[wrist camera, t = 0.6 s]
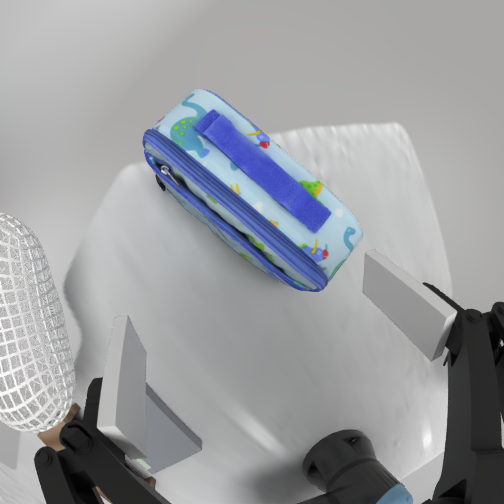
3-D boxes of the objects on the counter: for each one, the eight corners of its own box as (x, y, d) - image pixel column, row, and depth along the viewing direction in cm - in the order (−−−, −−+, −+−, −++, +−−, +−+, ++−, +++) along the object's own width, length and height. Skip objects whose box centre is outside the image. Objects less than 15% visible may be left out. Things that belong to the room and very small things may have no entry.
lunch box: (151, 184, 43) (115, 129, 22) (196, 137, 44) (196, 58, 24) (276, 291, 46) (333, 316, 25) (316, 240, 47) (393, 228, 27)
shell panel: (201, 438, 44) (201, 450, 40) (154, 463, 42) (152, 474, 38) (145, 380, 42) (141, 389, 39) (99, 409, 41) (93, 419, 37)
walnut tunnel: (155, 479, 41) (152, 501, 35) (127, 491, 40) (122, 511, 33) (75, 402, 39) (62, 419, 33) (50, 419, 38) (37, 435, 31)
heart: (118, 380, 41) (71, 456, 19) (48, 387, 39) (-14, 444, 17) (78, 215, 41) (-3, 185, 19) (11, 237, 38) (-74, 225, 16)
